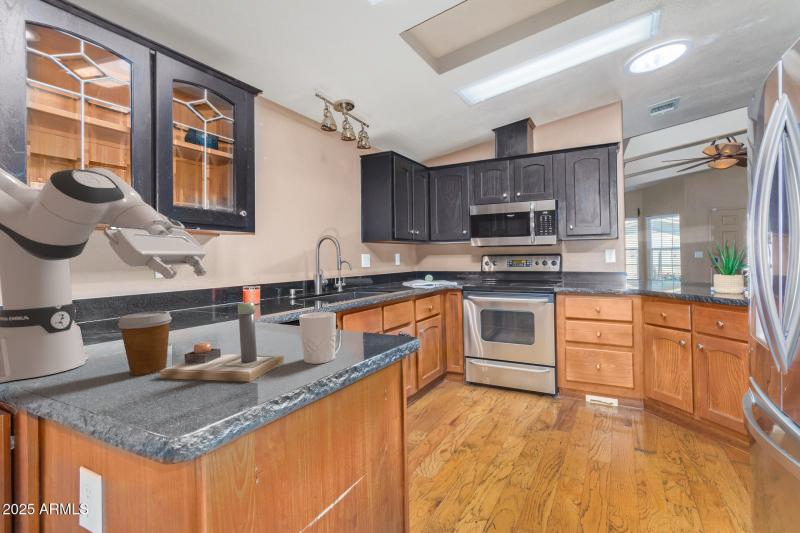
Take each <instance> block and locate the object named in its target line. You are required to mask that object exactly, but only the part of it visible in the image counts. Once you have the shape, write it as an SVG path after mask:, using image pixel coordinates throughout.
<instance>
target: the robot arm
mask: <svg viewBox="0 0 800 533" xmlns="http://www.w3.org/2000/svg"><path fill="white" fill-rule="evenodd" d="M100 223H105V224H107V225H108V226H106V227H105V228H104V229H103V232H102V233H103V235H104V236H105V237H106V238H107V239H108V241H109V246H110V247H111V249H113V251H114V253H115V254H116V255H117V256H118V258H119V259H120V260H121V261H122V262H123V263H124V264H126V265H128V266H129V267H135V268H136V267H148V268H149V269H150V270H152V271H153V272H156V273H157V274H160V275H161V276H162V277H163V278H164V279H165V280H172V279H174V278H175V276H177V274H178V272H177V271H176V270H175V269H174V268H173V266H183V265H188V266H190V267H192V268H193V271H192V272H193V273H194V274H195V275H196V276H197V277H203V276H205V275H206V274H207V273H208V270H207V269H206V268H205V267H204V265H203V263H202V260H203V259H204V258H205V256H206V255H207V253H206V250H205V248H204V247H203V246H202V245H201V243H199V241H198V240H196V239H195V238H194V237H193V235H191V234H190V233H189V232H187V231H186V230H184V229H185V228H186V227H185V225H184V224H183V223H181V222H180V221H179V220H175V219H172V218H169V217H168V216H165V215H164V214H162V213H161V212H158V211H156V210H155V208H153V206H152V205H150V204H148V203H146V202H145V201H144V200H143V198H142V196H141V195H140V193H138V192H137V191H136V190H135V188H133V187H132V186H131V185H130V184H129V183H127V181H126V180H124V179H122V178H121V177H120V176H119V175H117V174H116V173H114V172H113V171H111V170H109V169H106V168H103V167H97V166H96V167H89V168H86V169H65V170H58V171H56V172H53V173H51V175H50V177H48V179H47V180H46V182H45V183H44V185H43V186H42V188H41V190H40V191H39V190H36V189H33V188H32V187H31V186H29V185H28V184H26V183H24V182H22V181H21V180H19V179H18V178H16V177H15V176H13V175H12V174H11V173H9V172H7V171H6V170H4V169H3V168H1V167H0V290H1V291H0V292H1V301H2V304H1V305H2V309H0V384H1V383H6V382H11V381H17V380H24V379H32V378H38V377H39V378H40V377H44V376H48V375H53V374H58V373H62V372H65V371H69V370H72V369H75V368H78V367H81V366H83V365H84V364H86V363H87V360H88V359H90V354H89V353H85V352H86V351H85V348H84V342H83V338H82V337H83V336H82V332H81V327H80V326H79V325H78V324H76V322H75V319H76V318H77V314H76V313H77V309H76V305H75V303H73V296H72V295H73V294H72V281H71V280H72V279H71V269H70V268H71V267H70V261H69V259H72V258H75V257H78V256H80V255H81V254H82V253H83V251H84V250H85V247H86V246H87V244H88V243H89V242H88V241H89V239H90V237H91V235H92V233H94V231H95V229H96V227H97V226H98V224H100Z"/></svg>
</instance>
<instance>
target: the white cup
mask: <svg viewBox="0 0 800 533" xmlns="http://www.w3.org/2000/svg"><path fill="white" fill-rule="evenodd" d="M298 320H299V329H300V339H301V347H302V350H303V362H305V363H307V364H311V365H312V364H313V365H315V364H316V365H318V364H320V365H321V364H325V363H329V362H332V361H334V360H335V359H336V345H337V344H336V342H337V341H336V340H337V327H336V325H337V324H336V323H337V314H336V312H332V311H316V312H315V311H314V312H307V313H303V314H300V315H298Z"/></svg>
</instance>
